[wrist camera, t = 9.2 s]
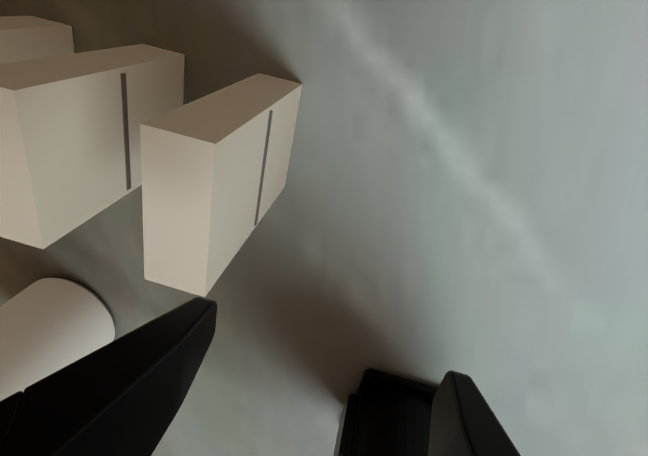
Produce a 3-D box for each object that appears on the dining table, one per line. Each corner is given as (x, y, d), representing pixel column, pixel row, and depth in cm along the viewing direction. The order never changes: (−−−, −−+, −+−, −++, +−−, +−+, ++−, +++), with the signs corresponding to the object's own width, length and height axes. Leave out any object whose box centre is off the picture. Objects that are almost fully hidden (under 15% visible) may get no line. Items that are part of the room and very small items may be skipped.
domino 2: (185, 54, 18) (15, 91, 10) (183, 158, 21) (44, 250, 13) (141, 43, 18) (-58, 71, 11) (144, 147, 21) (-15, 232, 13)
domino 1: (303, 84, 18) (217, 144, 10) (286, 186, 20) (206, 297, 13) (258, 72, 18) (138, 123, 10) (246, 175, 20) (143, 278, 13)
